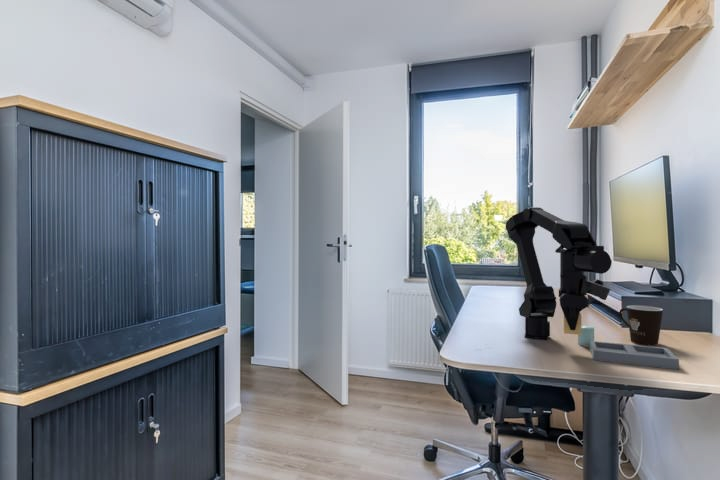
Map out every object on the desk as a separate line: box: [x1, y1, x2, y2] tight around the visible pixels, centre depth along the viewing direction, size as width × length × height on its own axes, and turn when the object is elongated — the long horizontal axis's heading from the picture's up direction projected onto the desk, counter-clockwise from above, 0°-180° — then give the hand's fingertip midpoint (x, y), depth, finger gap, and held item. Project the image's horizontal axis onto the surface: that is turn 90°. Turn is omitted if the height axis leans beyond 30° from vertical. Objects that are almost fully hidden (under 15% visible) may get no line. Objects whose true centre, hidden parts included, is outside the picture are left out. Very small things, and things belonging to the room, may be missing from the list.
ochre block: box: [563, 312, 582, 336], centre depth 104 cm, size 4×4×5 cm
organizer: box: [589, 340, 680, 370], centre depth 98 cm, size 17×10×2 cm, turn 64°
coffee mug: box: [618, 304, 664, 347], centre depth 114 cm, size 12×9×10 cm
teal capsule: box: [577, 325, 595, 348], centre depth 111 cm, size 4×4×5 cm
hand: (572, 328), depth 104 cm, fingers closed on ochre block, 4 cm apart
